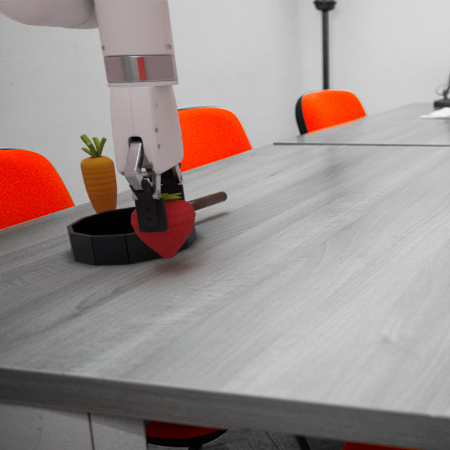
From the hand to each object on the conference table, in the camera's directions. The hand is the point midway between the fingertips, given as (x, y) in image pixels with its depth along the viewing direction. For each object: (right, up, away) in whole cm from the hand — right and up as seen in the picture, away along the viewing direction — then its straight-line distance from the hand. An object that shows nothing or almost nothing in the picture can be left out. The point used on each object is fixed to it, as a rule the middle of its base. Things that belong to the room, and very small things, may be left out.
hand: (164, 221), depth 70 cm
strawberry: (0, -5, +1) cm, 5 cm away
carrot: (-19, -1, +24) cm, 31 cm away
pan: (-7, -2, +18) cm, 19 cm away
